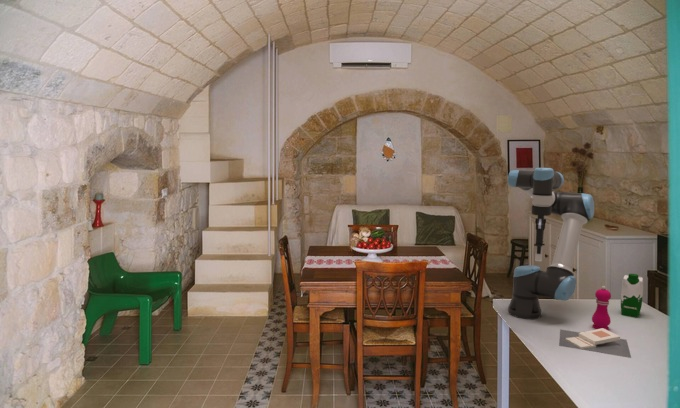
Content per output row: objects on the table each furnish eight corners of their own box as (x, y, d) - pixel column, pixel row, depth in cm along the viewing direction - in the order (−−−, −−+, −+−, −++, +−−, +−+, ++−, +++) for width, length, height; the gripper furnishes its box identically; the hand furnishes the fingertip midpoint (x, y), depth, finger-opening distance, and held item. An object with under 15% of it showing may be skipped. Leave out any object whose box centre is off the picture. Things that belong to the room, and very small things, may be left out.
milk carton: (619, 315, 231) (622, 274, 229) (620, 309, 239) (623, 270, 236) (640, 318, 227) (644, 277, 224) (641, 313, 234) (644, 273, 232)
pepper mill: (612, 333, 208) (615, 288, 206) (594, 332, 210) (597, 287, 207) (606, 327, 215) (610, 284, 213) (589, 326, 217) (592, 283, 214)
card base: (581, 349, 190) (581, 346, 190) (565, 339, 199) (565, 337, 199) (595, 347, 192) (596, 345, 192) (579, 338, 201) (579, 336, 201)
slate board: (560, 331, 211) (560, 329, 210) (626, 341, 200) (626, 339, 200) (558, 348, 194) (559, 345, 193) (631, 360, 183) (631, 357, 183)
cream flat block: (595, 341, 192) (620, 336, 194) (578, 332, 200) (602, 327, 203) (595, 344, 192) (620, 339, 195) (578, 336, 201) (602, 331, 203)
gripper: (533, 203, 207) (530, 256, 210) (530, 206, 195) (527, 263, 198) (552, 204, 204) (548, 258, 207) (550, 207, 192) (547, 265, 195)
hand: (538, 260), depth 203 cm, fingers closed
